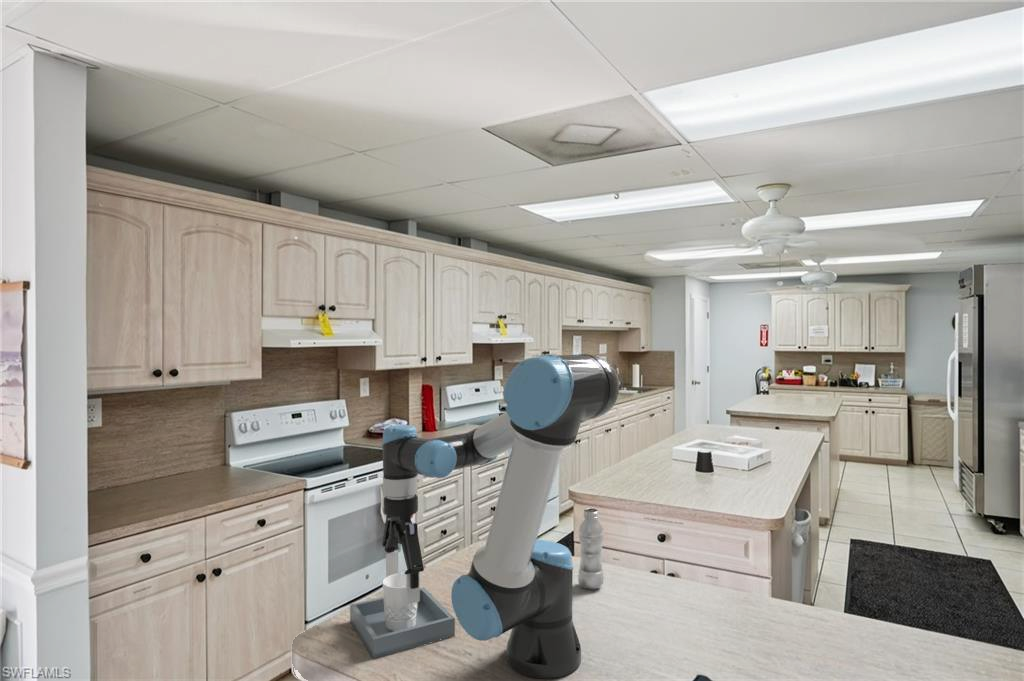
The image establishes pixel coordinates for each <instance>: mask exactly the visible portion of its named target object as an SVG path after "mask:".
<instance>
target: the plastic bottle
mask: <svg viewBox="0 0 1024 681" xmlns="http://www.w3.org/2000/svg"><path fill="white" fill-rule="evenodd" d="M604 535H605V530H604V527H603V525H602V524H601V522H600V521H599V510H598V509H596V508H592V507H591V508H585V509H583V521H582V522H581V523H580V526H579V527H578V537H579V545H580V547H579V548H580V560H579V569H578V573H577V579H578V583H579V586H580V587H582V588H583V589H587V590H597V589H599V588H601V587H602V586H603V584H604V578H605V576H604V570H603V560H602V551H603V541H604V540H603V539H604Z"/></svg>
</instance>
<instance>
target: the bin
mask: <svg viewBox="0 0 1024 681" xmlns="http://www.w3.org/2000/svg"><path fill="white" fill-rule="evenodd" d="M349 611H350V612H349V616H350V617H349V620H350V621H349V622H350V624H351V625H352V627H353V629H354V630H355V632H356V633H357V635H358V636H359V638H360V640H361V641H362V643H363V644H364V646H365V647H366V649H367V651H368V652H369V654H370V656H371V658H372V659H373V660H376V659H380V658H382V657H386V656H390V655H392V654H393V655H394V654H397V653H401V652H404V651H408V650H411V649H414V647H415V648H418V647H417V646H419V647H421V645H422V646H425V645H424V644H426V645H428V644H427V643H429V644H431V643H430V642H433V643H435V642H434V641H436V642H439V641H438V640H440V639H443V640H446V639H445V638H447V639H449V638H448V637H450V638H452V637H451V636H454V637H456V633H455V632H456V629H455V628H456V620H455V619H456V618H455V617H454V615H452V614H451V612H450V611H449V610H448V609H446V607H444V605H443V604H441V603H440V602H439V601H438V600H437V599H436V598H435V597H434V596H433V595H432V594H431V592H429V591H428V590H427V589H426V588H425V587H420V601H419V602H418V605H417V614H416V625H415V626H413V627H409V628H406V629H402V630H398V631H394V632H393V631H390V630H388V629H387V628H386V625H385V613H384V601H383V596H381V597H377V598H373V599H368V600H364V601H363V600H362V601H359V602H355V603H350V605H349ZM440 641H441V640H440ZM403 650H404V651H403ZM400 651H401V652H400Z"/></svg>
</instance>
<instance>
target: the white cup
mask: <svg viewBox="0 0 1024 681" xmlns="http://www.w3.org/2000/svg"><path fill="white" fill-rule="evenodd" d="M382 597H383V601H384V613H385V625H386V628H387V629H388V630H390V631H393V632H394V631H398V630H402V629H406V628H409V627H413V626H415V625H416V614H417V605H418V602H415V603H410V604H407V603H406V574H405V572H401V573H399V572H398V574H393V575H390V576H388V577H386V576H385V578H383V580H382Z"/></svg>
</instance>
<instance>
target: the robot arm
mask: <svg viewBox="0 0 1024 681" xmlns="http://www.w3.org/2000/svg"><path fill="white" fill-rule="evenodd" d="M619 383H620V382H619V378H618V374H617V372H616V371H615V369H614V368H613V366H612V365H611V364H610V363H609V362H608V361H607V360H605V359H603V358H601V357H600V356H597V355H594V354H591V353H590V354H589V353H587V354H586V353H585V354H584V353H579V354H560V355H558V354H557V355H553V354H544V355H538V356H533V357H529V358H526V359H524V360H522V361H520V362H519V363H518V364H517V365H516V366H515V367H514V368H513V369H512V370H511V371H510V373H509V375H508V377H507V378H506V382H505V385H504V391H503V402H504V403H506V406H505V407H504V408H505V412H503V413H502V414H500V415H498V416H497V417H495V418H492V419H491V420H489V421H486V422H485V423H483V424H481V425H479V426H478V427H476V428H474V429H472V430H470V431H468V432H464V433H458V434H452V435H446V436H440V437H439V436H438V437H434V438H423V437H418V432H417V431H418V430H417V428H416V426H414V425H411V424H397V425H395V424H394V425H390V426H387V427H385V428H384V430H383V431H382V443H381V447H382V473H383V475H382V476H383V477H382V494H383V496H385V497H383V514H384V515H385V523H384V530H383V537H382V543H381V546H382V547H383V548H384V552H385V578H386V577H388V576H390V575H393V574H399V552H398V550H400V547H399V544H400V545H401V549H402V553H403V557H404V558H403V559H404V561H405V565H406V570H405V571H404V573H405V574H406V603H407V604H410V603H415V602H419V601H420V588H421V587H420V572H424V571H425V569H424V568H425V567H424V563H423V556H422V551H421V544H420V539H419V532H418V531H419V530H418V523H417V522H414V523H413V522H412V516H413V515H414V514H416V513H418V511H419V497H418V495H417V493H418V483H419V482H420V478H419V477H418V475H421V476H425V477H428V478H430V479H431V478H432V479H434V478H436V479H442V478H446V477H448V475H450V474H451V473H452V472H453V471H457V470H460V469H465V468H469V467H475V466H483V465H486V464H489V463H491V462H494V461H495V460H496V459H497V457H498V456H499V455H502V454H504V453H506V452H508V451H510V454H509V458H508V461H507V466H506V468H505V473H504V476H503V479H502V484H501V487H500V490H499V494H498V497H497V502H496V505H495V509H494V512H493V516H492V519H491V524H490V527H489V531H488V535H487V538H486V542H485V544H484V546H482V547H480V548H478V549H477V550H476V551H475V553H474V555H473V559H472V561H471V562H472V563H471V565H470V568H469V571H468V573H466V574H462V575H460V576H459V577H458V578H457V579H456V580H455V581H454V582H453V584H452V587H451V592H450V593H451V596H450V598H451V604H452V605H451V606H452V608H453V611H454V614H455V616H456V619H457V621H458V623H459V624H460V626H461V627H462V629H463V630H464V631H465V632H466V633H467V634H468V635H469V636H470V637H472V638H473V639H475V640H477V641H482V642H483V641H488V640H490V639H493V638H498V637H500V636H501V635H502V634H504V633H506V632H508V631H510V634H509V638H508V641H507V644H506V661H507V662H506V663H507V664H508V665H509V666H510V667H511V668H512V669H513V670H514V671H515V672H517V673H518V674H521V675H523V676H526V677H530V678H533V679H545V680H546V679H555V678H561V677H564V676H568V675H570V674H571V673H573V672H574V671H576V670H577V669H578V668H579V667H580V665H581V662H582V648H581V647H582V646H581V643H580V640H579V636H578V633H577V630H576V628H575V624H574V621H573V570H574V567H573V556H572V555H573V554H572V552H571V550H570V549H569V547H567V546H565V545H564V544H561V543H558V542H555V541H551V540H543V539H538V536H539V533H540V529H541V527H542V526H541V525H542V522H543V520H544V519H543V518H544V516H545V512H546V509H547V505H548V502H549V498H550V496H551V491H552V488H553V485H554V482H555V479H556V475H557V471H558V469H559V466H560V462H561V458H562V456H563V452H564V449H567V448H569V447H571V446H572V445H574V444H575V442H576V440H577V436H578V433H579V430H580V426H581V424H582V423H584V422H586V421H588V420H592V419H596V418H600V417H602V416H604V415H605V414H607V413H608V412H609V411H611V409H612V408H614V406H615V405H616V403H617V400H618V399H619V397H618V396H619V393H620V384H619Z"/></svg>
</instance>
